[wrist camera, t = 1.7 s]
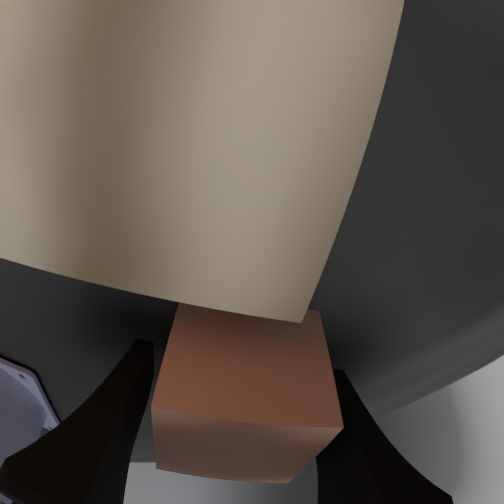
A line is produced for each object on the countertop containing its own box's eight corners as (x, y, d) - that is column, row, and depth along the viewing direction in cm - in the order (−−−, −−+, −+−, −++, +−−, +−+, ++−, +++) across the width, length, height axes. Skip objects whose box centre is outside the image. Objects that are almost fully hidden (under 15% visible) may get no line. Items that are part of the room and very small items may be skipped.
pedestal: (-1, 207, 10) (-46, 242, 7) (38, -75, 4) (-8, -94, 1) (291, 263, 11) (301, 323, 8) (379, -65, 5) (419, -100, 3)
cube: (175, 371, 14) (156, 468, 9) (183, 286, 11) (151, 406, 7) (282, 387, 14) (287, 483, 10) (318, 309, 12) (343, 427, 7)
